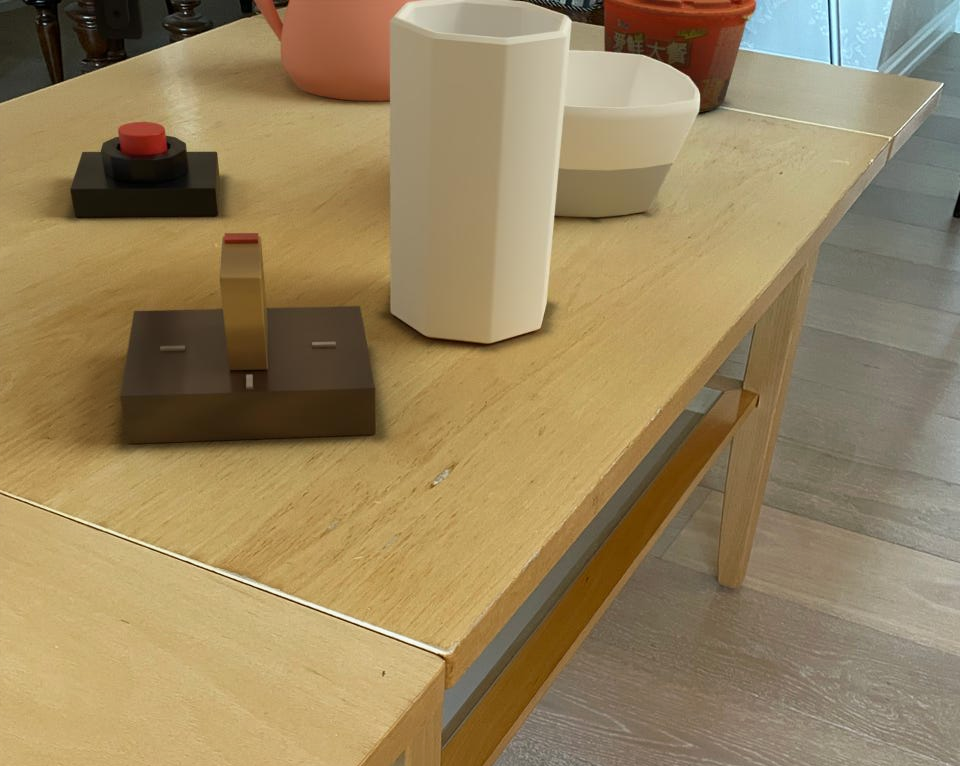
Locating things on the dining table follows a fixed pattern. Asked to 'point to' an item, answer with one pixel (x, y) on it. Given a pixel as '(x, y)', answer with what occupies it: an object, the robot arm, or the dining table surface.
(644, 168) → the bowl
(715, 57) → the food container
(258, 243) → the lock knob
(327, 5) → the teapot
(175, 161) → the button block
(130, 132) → the button
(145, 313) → the plate
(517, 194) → the cup
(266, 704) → the dining table surface
